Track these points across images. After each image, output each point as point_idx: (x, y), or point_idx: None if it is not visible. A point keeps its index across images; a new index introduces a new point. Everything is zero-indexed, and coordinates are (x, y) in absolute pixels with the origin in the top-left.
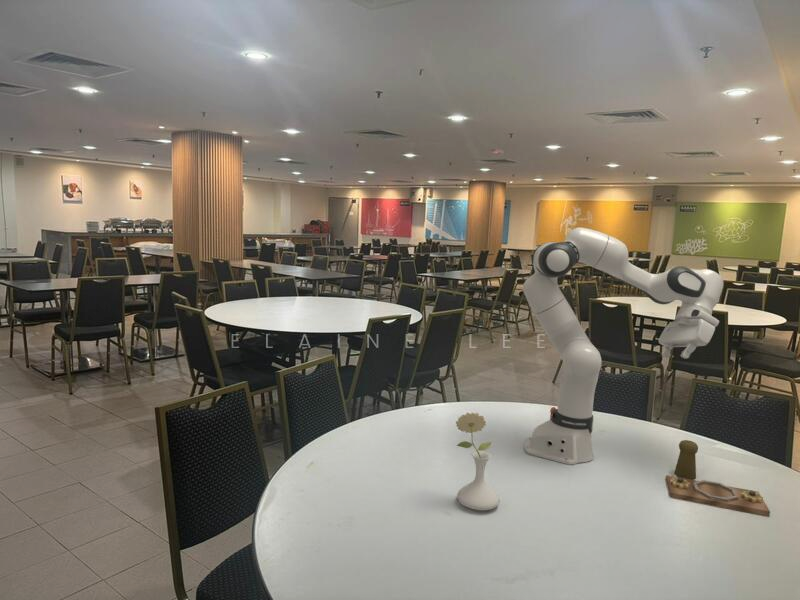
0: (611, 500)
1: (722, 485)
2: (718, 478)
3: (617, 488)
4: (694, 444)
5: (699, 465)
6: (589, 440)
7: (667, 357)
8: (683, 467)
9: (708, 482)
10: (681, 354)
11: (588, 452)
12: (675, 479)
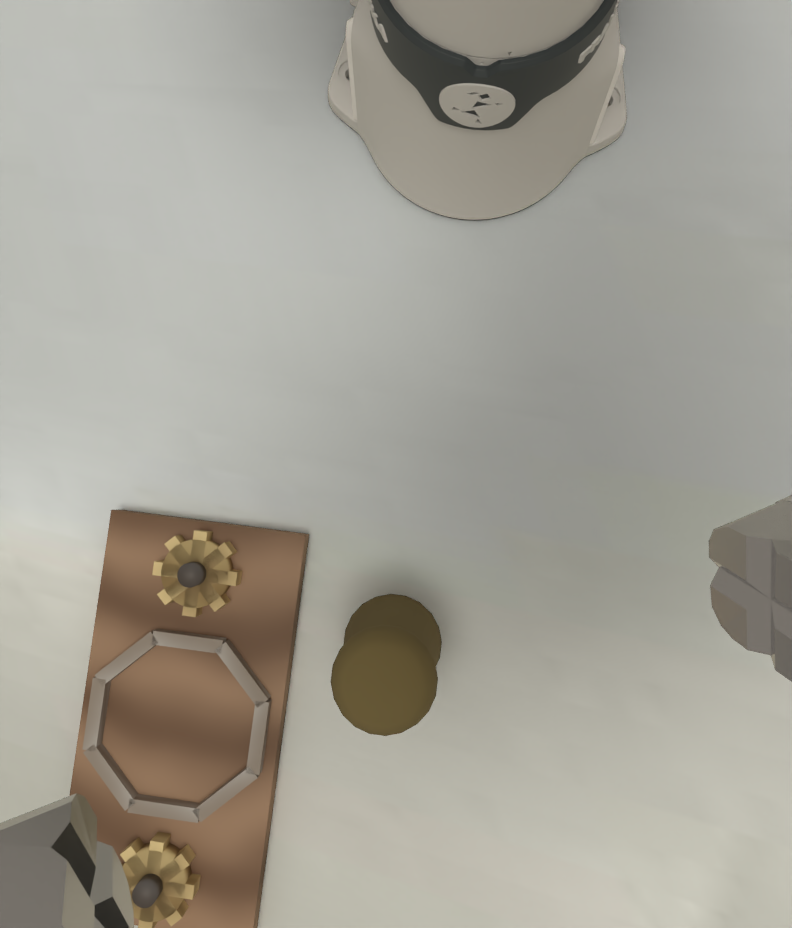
0: (19, 253)
1: (235, 778)
2: (413, 806)
3: (143, 294)
4: (355, 712)
5: (554, 757)
6: (428, 138)
7: (719, 596)
8: (351, 630)
9: (254, 719)
10: (34, 825)
11: (409, 167)
12: (213, 556)
